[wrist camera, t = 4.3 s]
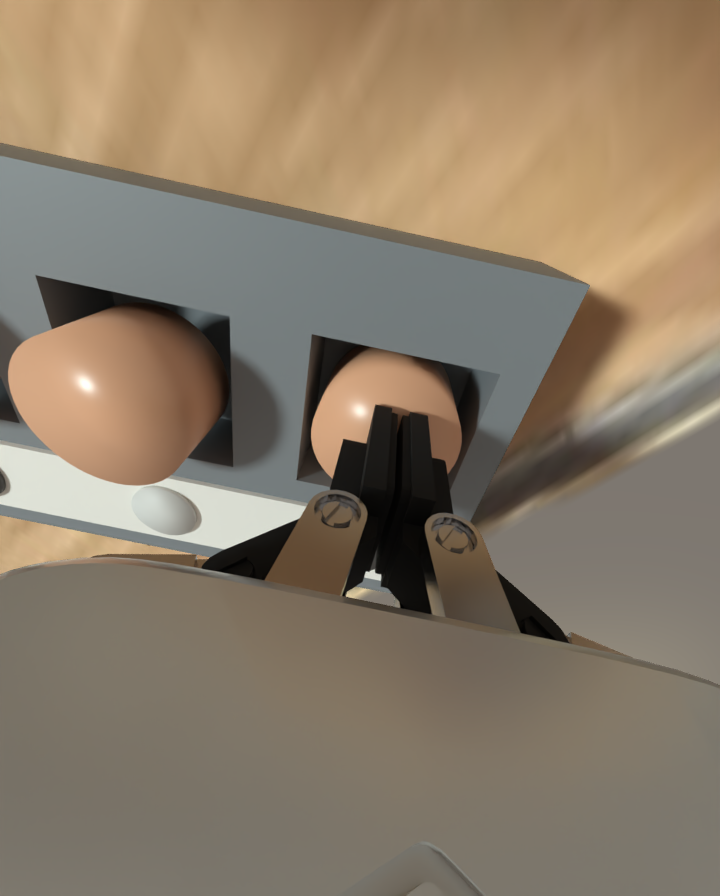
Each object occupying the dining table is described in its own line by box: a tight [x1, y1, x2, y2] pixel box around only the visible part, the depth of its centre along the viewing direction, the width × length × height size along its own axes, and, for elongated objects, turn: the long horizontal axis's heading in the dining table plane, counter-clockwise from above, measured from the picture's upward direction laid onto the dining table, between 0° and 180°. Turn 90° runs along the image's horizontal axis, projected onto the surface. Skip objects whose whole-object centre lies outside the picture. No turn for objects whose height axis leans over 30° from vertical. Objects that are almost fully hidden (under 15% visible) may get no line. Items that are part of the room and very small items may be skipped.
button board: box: [0, 143, 590, 594], centre depth 14 cm, size 14×24×4 cm, turn 80°
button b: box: [8, 302, 229, 486], centre depth 11 cm, size 5×5×3 cm
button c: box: [311, 345, 462, 479], centre depth 13 cm, size 5×5×3 cm
